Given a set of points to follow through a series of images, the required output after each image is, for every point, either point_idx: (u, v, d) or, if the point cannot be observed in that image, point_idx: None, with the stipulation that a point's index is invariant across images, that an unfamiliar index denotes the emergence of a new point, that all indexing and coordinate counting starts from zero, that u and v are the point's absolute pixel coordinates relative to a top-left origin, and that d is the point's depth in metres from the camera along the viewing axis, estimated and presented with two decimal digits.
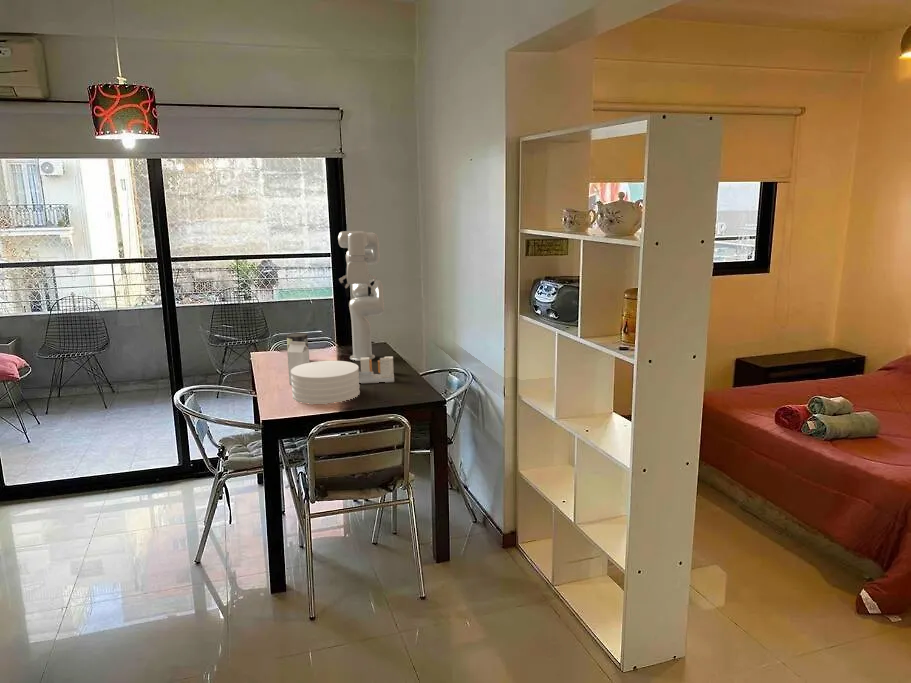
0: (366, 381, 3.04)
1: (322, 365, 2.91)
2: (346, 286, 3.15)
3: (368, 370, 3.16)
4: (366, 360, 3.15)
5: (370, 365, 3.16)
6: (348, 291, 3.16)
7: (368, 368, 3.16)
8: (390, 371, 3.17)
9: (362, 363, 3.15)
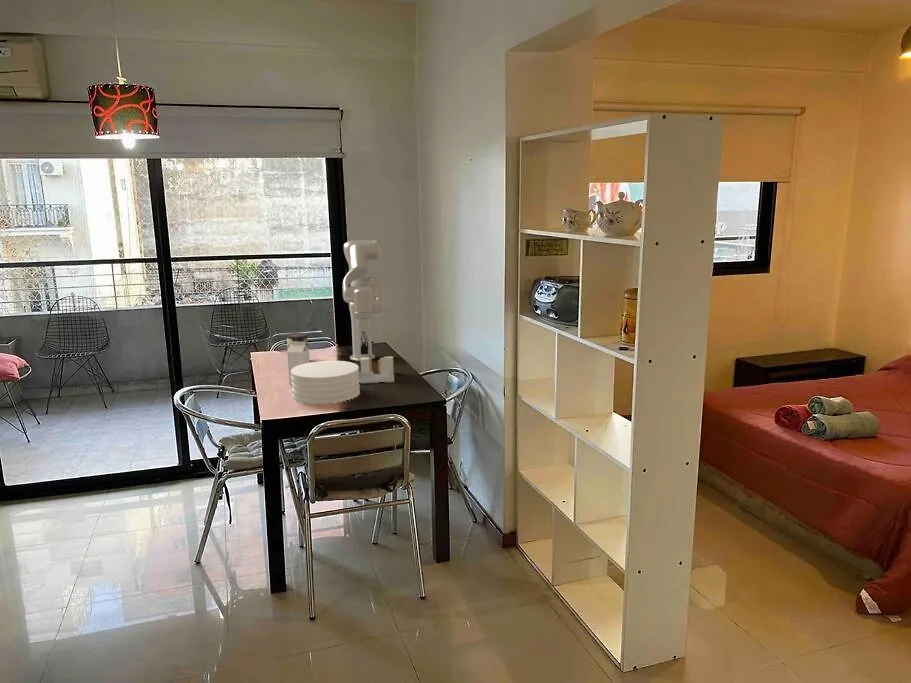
0: (366, 381, 3.04)
1: (322, 365, 2.91)
2: (366, 344, 3.09)
3: (368, 370, 3.16)
4: (366, 360, 3.15)
5: (370, 365, 3.16)
6: (367, 348, 3.10)
7: (368, 368, 3.16)
8: (390, 371, 3.17)
9: (362, 363, 3.15)
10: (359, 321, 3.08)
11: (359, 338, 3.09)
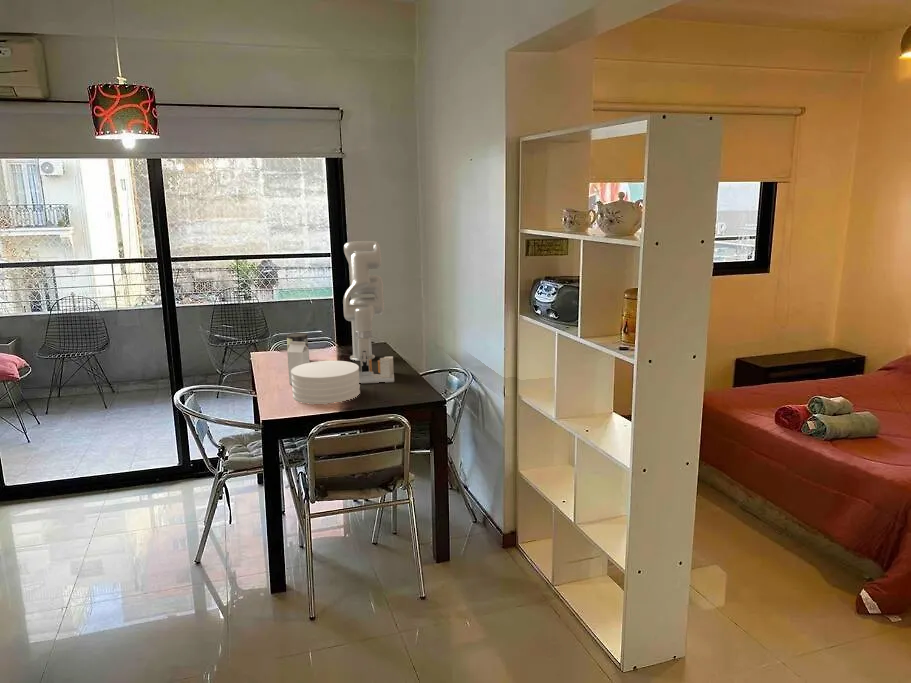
0: (366, 381, 3.04)
1: (322, 365, 2.91)
2: (367, 364, 3.14)
3: None
4: (366, 360, 3.15)
5: (370, 365, 3.16)
6: None
7: None
8: (390, 371, 3.17)
9: None
10: (360, 340, 3.10)
11: (360, 357, 3.11)
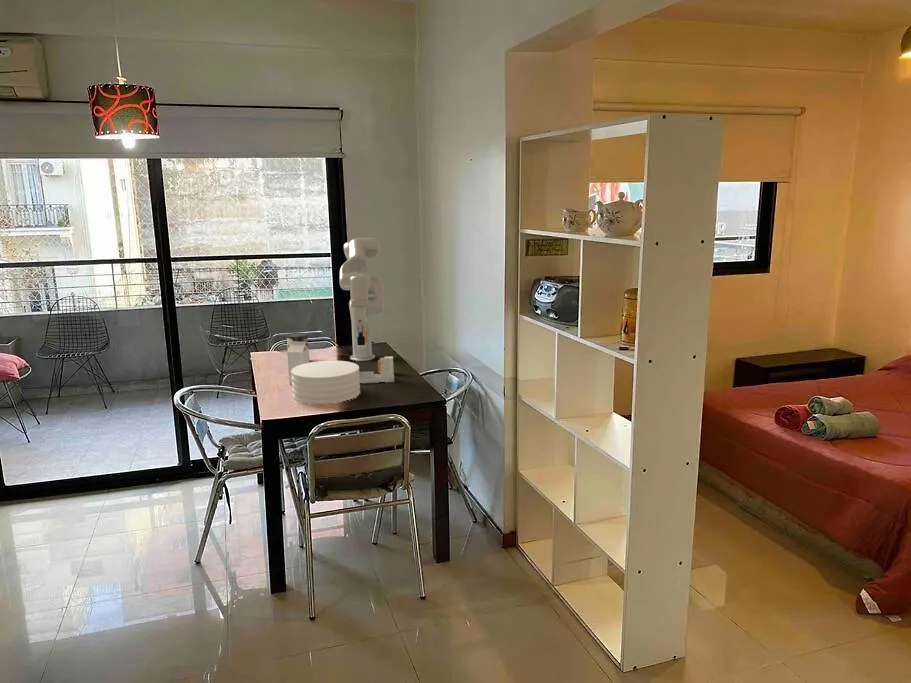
0: (366, 381, 3.04)
1: (322, 365, 2.91)
2: (363, 334, 3.00)
3: None
4: None
5: (366, 336, 3.02)
6: (364, 339, 3.02)
7: None
8: (390, 371, 3.17)
9: None
10: (355, 309, 2.96)
11: (355, 327, 2.97)
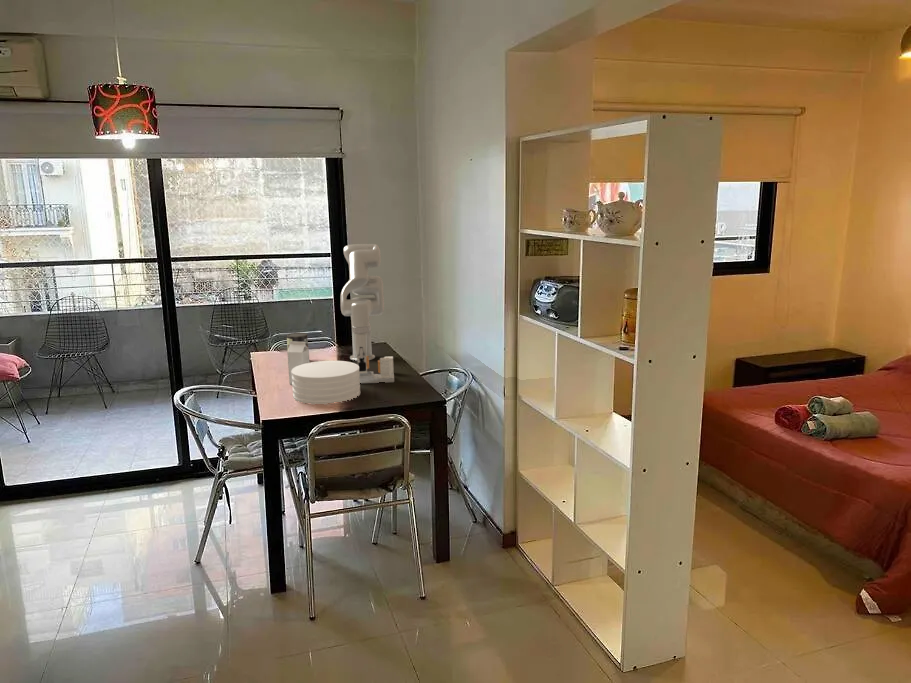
0: (366, 381, 3.04)
1: (323, 365, 2.91)
2: (364, 360, 3.03)
3: None
4: None
5: (367, 362, 3.05)
6: (365, 365, 3.04)
7: None
8: (390, 371, 3.17)
9: None
10: (357, 336, 2.99)
11: (357, 353, 3.00)
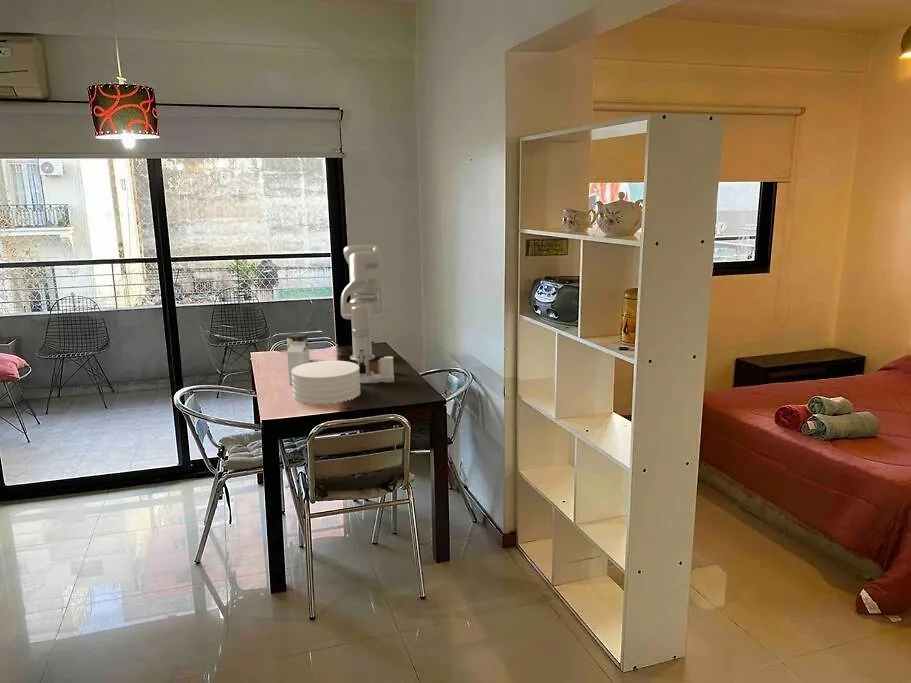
0: (366, 381, 3.04)
1: (323, 365, 2.91)
2: (364, 363, 3.01)
3: None
4: None
5: (367, 366, 3.05)
6: (365, 367, 3.03)
7: None
8: (390, 371, 3.17)
9: None
10: (357, 339, 2.99)
11: (357, 356, 3.00)
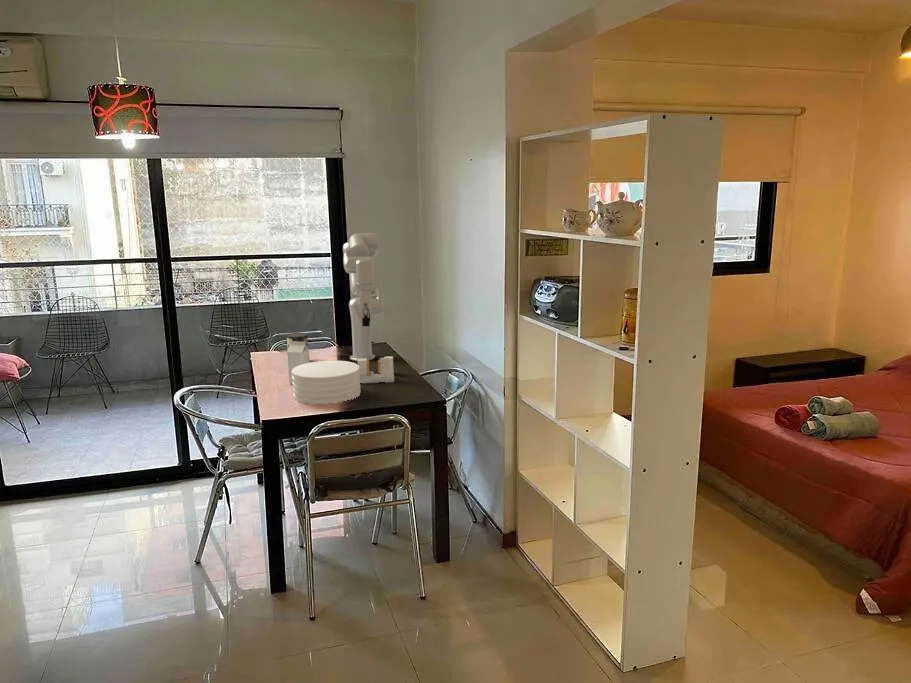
0: (366, 381, 3.04)
1: (323, 365, 2.91)
2: (368, 315, 3.06)
3: (365, 372, 3.05)
4: (363, 361, 3.04)
5: (367, 366, 3.05)
6: None
7: (365, 370, 3.05)
8: (390, 371, 3.17)
9: (359, 364, 3.04)
10: (361, 293, 3.04)
11: (361, 310, 3.05)
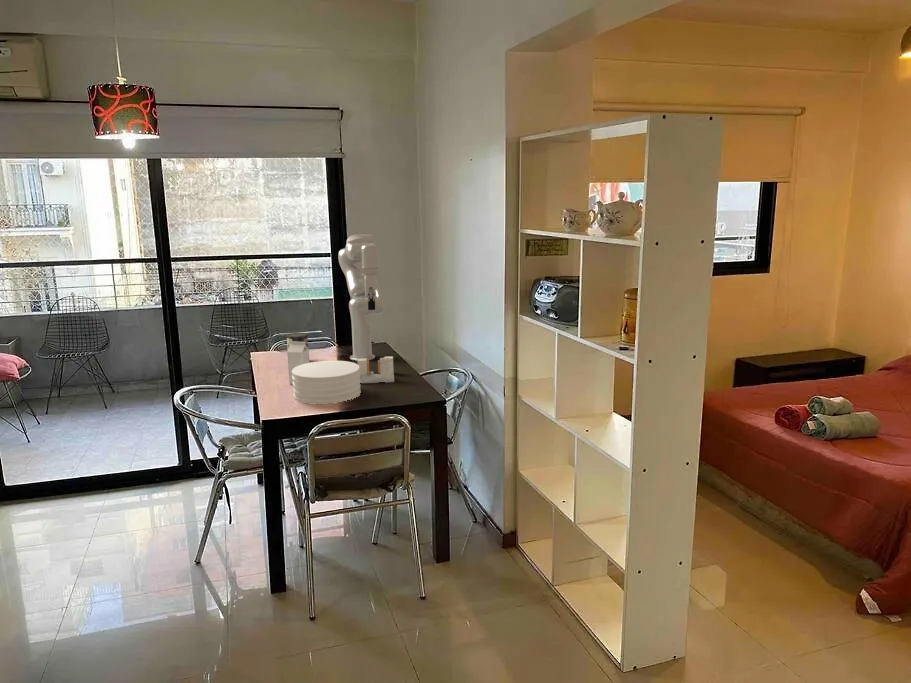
0: (366, 381, 3.04)
1: (323, 365, 2.91)
2: (374, 299, 3.13)
3: (365, 372, 3.05)
4: (363, 361, 3.04)
5: (367, 366, 3.05)
6: (374, 304, 3.14)
7: (365, 370, 3.05)
8: (390, 371, 3.17)
9: (359, 364, 3.04)
10: (366, 277, 3.11)
11: (366, 294, 3.12)
